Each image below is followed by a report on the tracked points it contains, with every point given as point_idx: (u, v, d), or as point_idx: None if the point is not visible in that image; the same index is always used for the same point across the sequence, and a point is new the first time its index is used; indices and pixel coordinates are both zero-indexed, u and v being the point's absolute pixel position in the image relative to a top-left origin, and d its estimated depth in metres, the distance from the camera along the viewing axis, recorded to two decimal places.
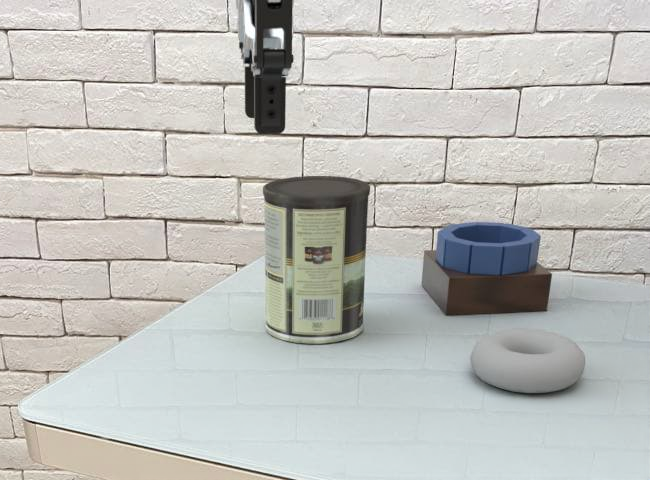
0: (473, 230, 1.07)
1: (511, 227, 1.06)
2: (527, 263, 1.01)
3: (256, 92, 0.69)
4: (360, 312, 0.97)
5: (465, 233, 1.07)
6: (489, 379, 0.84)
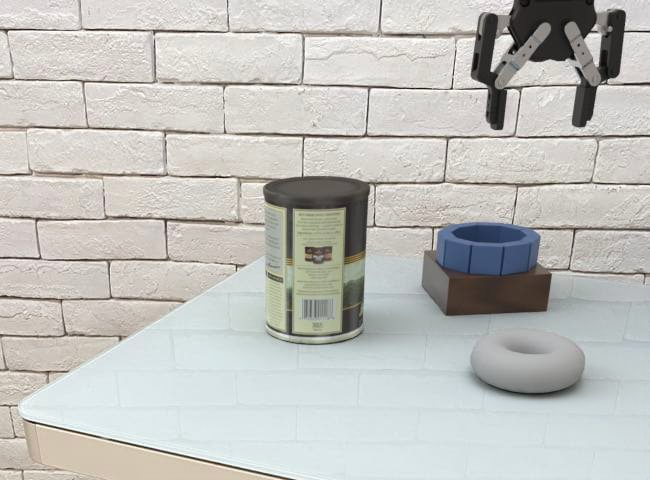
0: (473, 230, 1.07)
1: (511, 227, 1.06)
2: (527, 263, 1.01)
3: None
4: (360, 312, 0.97)
5: (465, 233, 1.07)
6: (489, 379, 0.84)
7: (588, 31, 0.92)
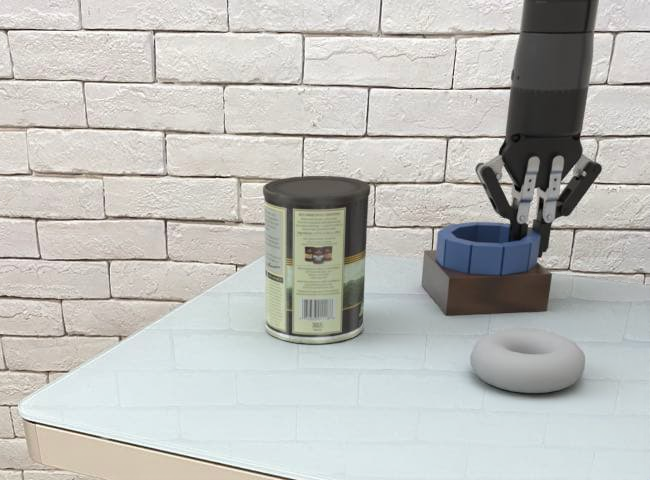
0: (473, 230, 1.07)
1: None
2: (527, 263, 1.01)
3: None
4: (360, 312, 0.97)
5: (465, 233, 1.07)
6: (489, 379, 0.84)
7: (574, 162, 0.99)
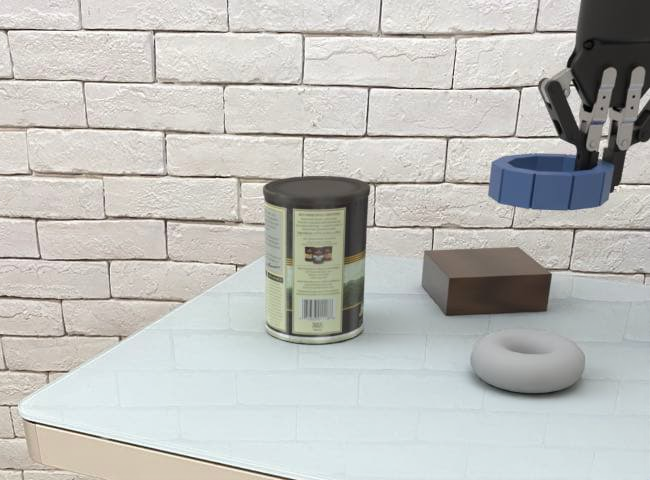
0: (531, 162, 0.91)
1: None
2: (599, 196, 0.85)
3: None
4: (360, 312, 0.97)
5: (522, 165, 0.91)
6: (489, 379, 0.84)
7: None
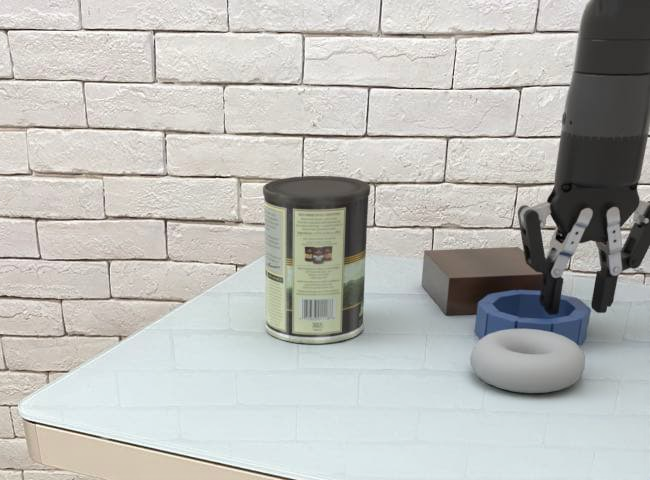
0: (515, 300, 0.98)
1: None
2: (577, 340, 0.92)
3: None
4: (360, 312, 0.97)
5: (506, 303, 0.98)
6: (489, 379, 0.84)
7: (630, 214, 0.90)
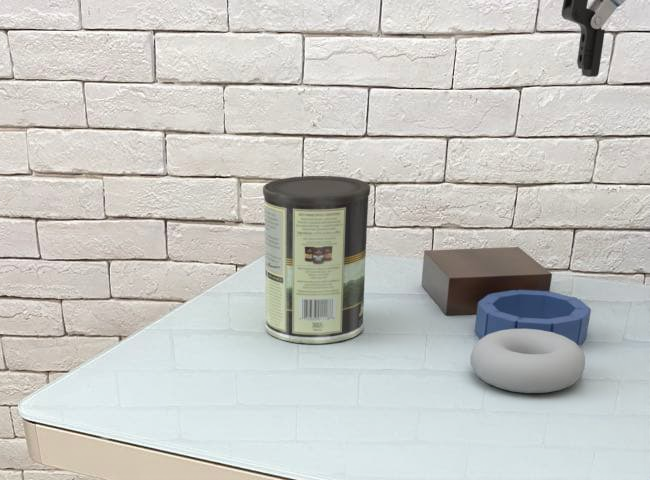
0: (515, 300, 0.98)
1: (557, 297, 0.97)
2: (577, 340, 0.92)
3: None
4: (360, 312, 0.97)
5: (506, 303, 0.98)
6: (489, 379, 0.84)
7: None
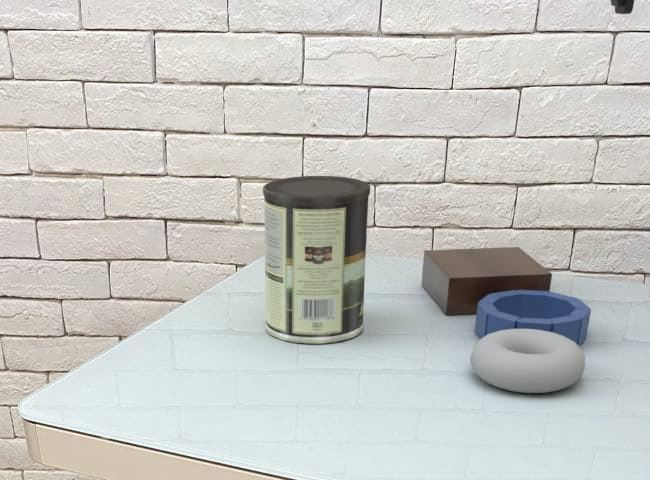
0: (515, 300, 0.98)
1: (557, 297, 0.97)
2: (577, 340, 0.92)
3: None
4: (360, 312, 0.97)
5: (506, 303, 0.98)
6: (489, 378, 0.84)
7: None
